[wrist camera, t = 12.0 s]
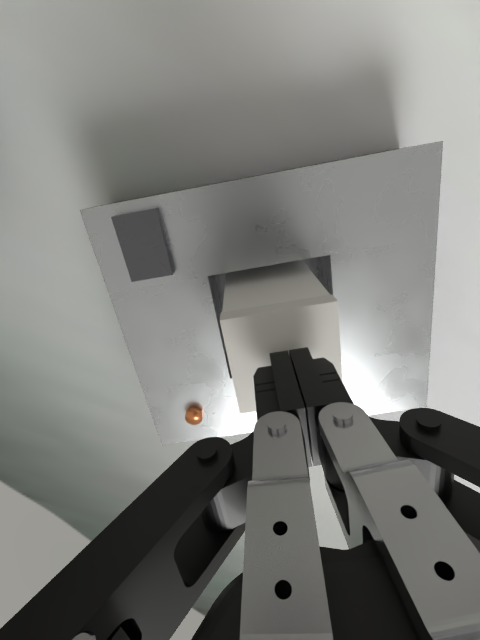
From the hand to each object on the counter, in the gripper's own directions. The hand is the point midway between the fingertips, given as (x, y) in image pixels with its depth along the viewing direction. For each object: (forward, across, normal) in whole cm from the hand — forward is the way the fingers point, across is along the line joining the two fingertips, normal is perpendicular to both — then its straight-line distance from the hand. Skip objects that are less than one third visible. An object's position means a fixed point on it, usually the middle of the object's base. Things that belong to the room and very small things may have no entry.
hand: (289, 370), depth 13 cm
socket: (+9, 0, 0) cm, 9 cm away
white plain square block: (+8, 0, 0) cm, 8 cm away
